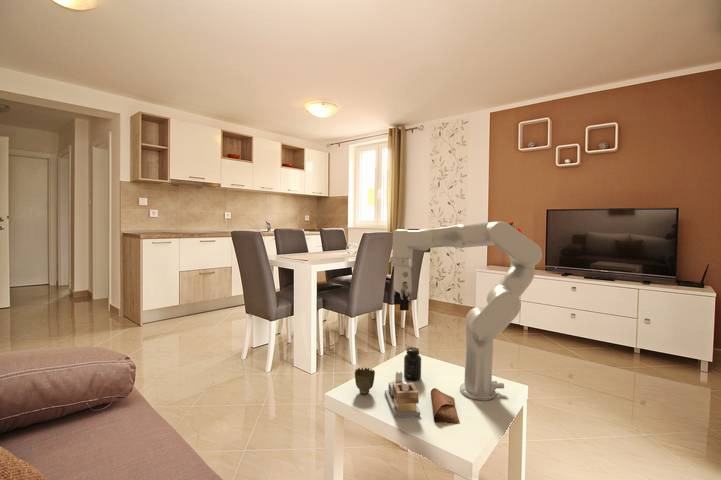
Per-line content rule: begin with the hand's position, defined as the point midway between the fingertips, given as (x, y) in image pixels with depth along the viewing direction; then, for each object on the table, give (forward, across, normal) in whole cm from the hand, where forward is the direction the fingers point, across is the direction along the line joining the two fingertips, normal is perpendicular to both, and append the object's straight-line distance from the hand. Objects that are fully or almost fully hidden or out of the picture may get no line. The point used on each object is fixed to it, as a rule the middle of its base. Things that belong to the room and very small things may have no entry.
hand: (400, 307), depth 135 cm
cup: (+31, -5, +14) cm, 34 cm away
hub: (+29, -19, +3) cm, 35 cm away
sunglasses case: (+31, -18, -11) cm, 38 cm away
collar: (+26, -19, +2) cm, 32 cm away
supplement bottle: (+31, +6, -7) cm, 32 cm away
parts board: (+30, -14, +2) cm, 34 cm away
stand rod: (+29, -10, +3) cm, 31 cm away
